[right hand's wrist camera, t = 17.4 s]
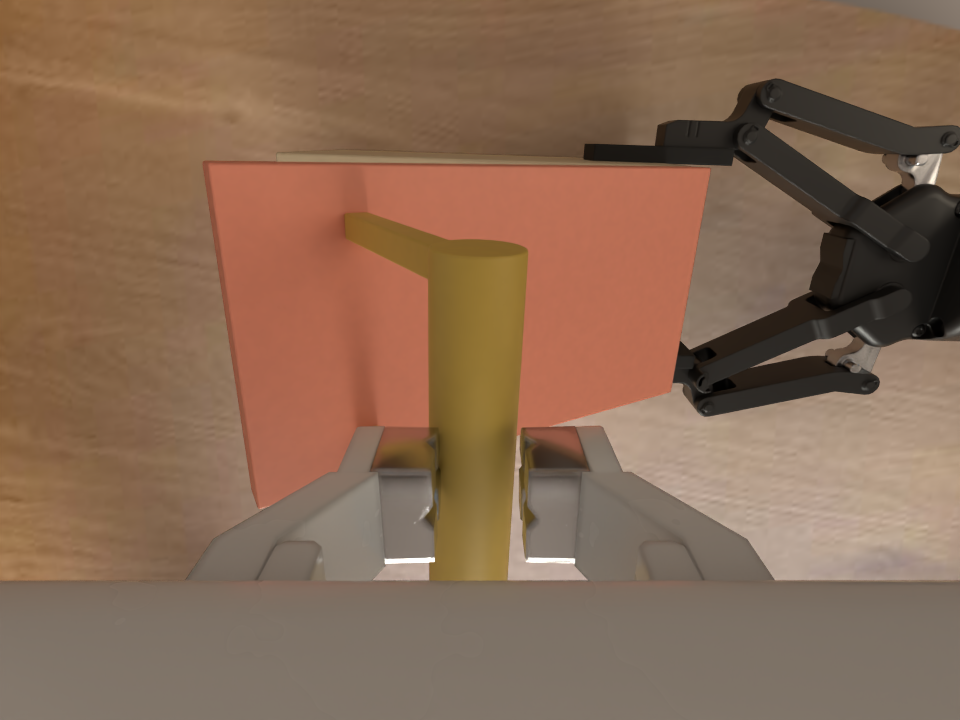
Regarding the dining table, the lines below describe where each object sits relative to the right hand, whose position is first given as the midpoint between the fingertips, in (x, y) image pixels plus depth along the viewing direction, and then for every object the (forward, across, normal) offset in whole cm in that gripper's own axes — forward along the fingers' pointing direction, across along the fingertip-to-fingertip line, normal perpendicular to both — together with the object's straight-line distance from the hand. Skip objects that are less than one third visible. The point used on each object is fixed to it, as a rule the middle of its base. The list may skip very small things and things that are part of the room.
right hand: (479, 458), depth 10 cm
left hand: (+20, -5, 0) cm, 20 cm away
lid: (+10, -1, 0) cm, 10 cm away
